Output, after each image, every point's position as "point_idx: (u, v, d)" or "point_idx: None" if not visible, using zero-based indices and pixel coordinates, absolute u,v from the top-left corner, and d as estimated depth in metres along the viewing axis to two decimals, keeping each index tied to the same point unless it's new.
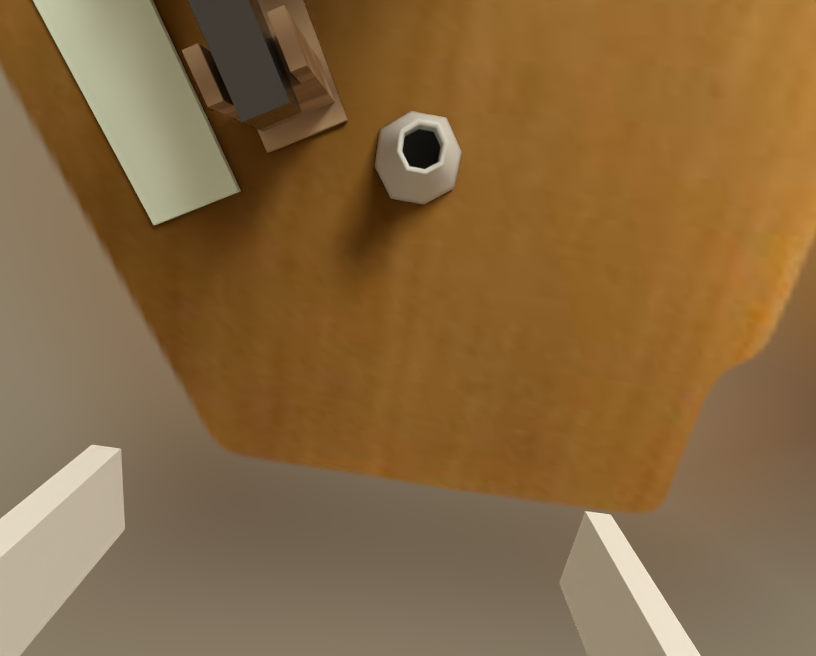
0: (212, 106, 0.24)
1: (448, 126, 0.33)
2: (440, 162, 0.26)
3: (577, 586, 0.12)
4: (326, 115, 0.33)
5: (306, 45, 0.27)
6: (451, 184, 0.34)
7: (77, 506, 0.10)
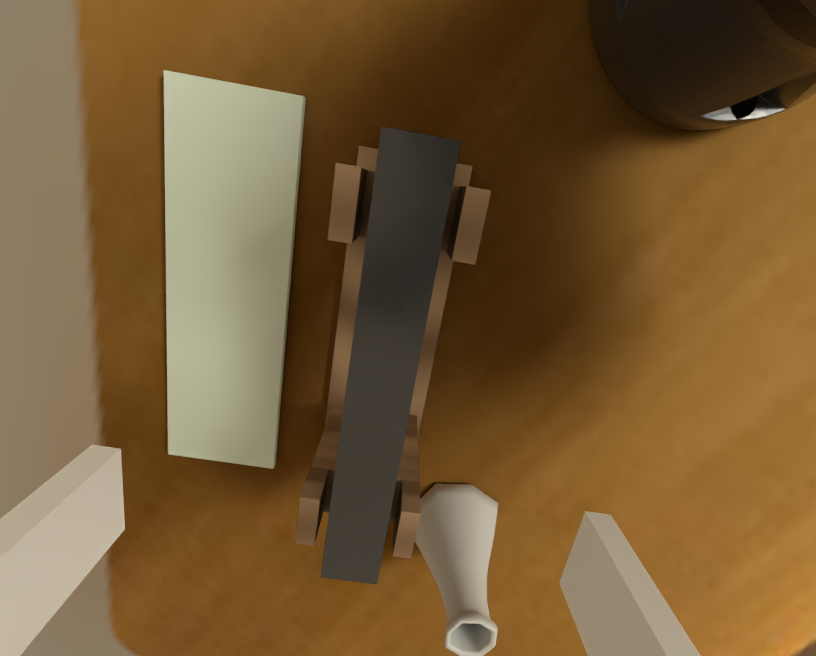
0: (300, 540, 0.22)
1: (496, 517, 0.33)
2: (478, 654, 0.26)
3: (577, 586, 0.12)
4: None
5: None
6: None
7: (77, 506, 0.10)
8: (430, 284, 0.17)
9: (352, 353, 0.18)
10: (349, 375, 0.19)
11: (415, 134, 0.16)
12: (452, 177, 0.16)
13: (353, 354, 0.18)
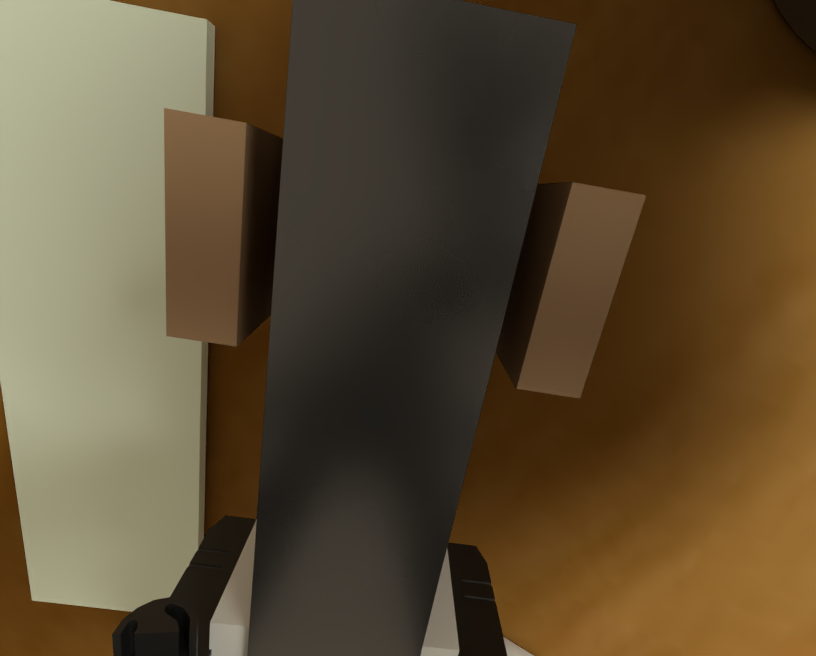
0: None
1: None
2: None
3: None
4: None
5: None
6: None
7: None
8: (459, 458, 0.06)
9: (254, 615, 0.07)
10: None
11: None
12: (539, 153, 0.05)
13: (257, 618, 0.07)
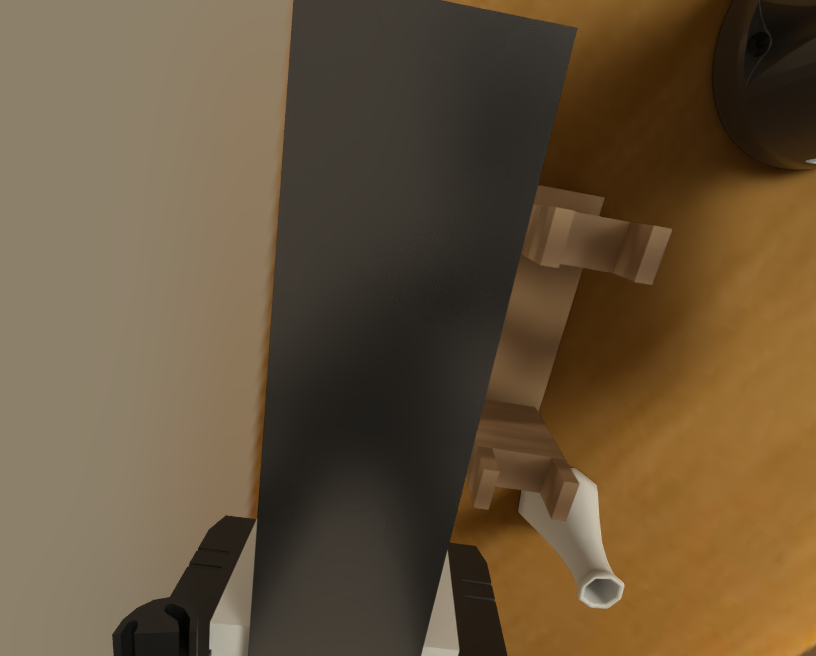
0: (476, 505, 0.27)
1: None
2: (605, 605, 0.31)
3: None
4: None
5: None
6: None
7: None
8: (459, 461, 0.06)
9: (254, 617, 0.07)
10: None
11: (419, 1, 0.04)
12: (539, 157, 0.05)
13: (258, 621, 0.07)
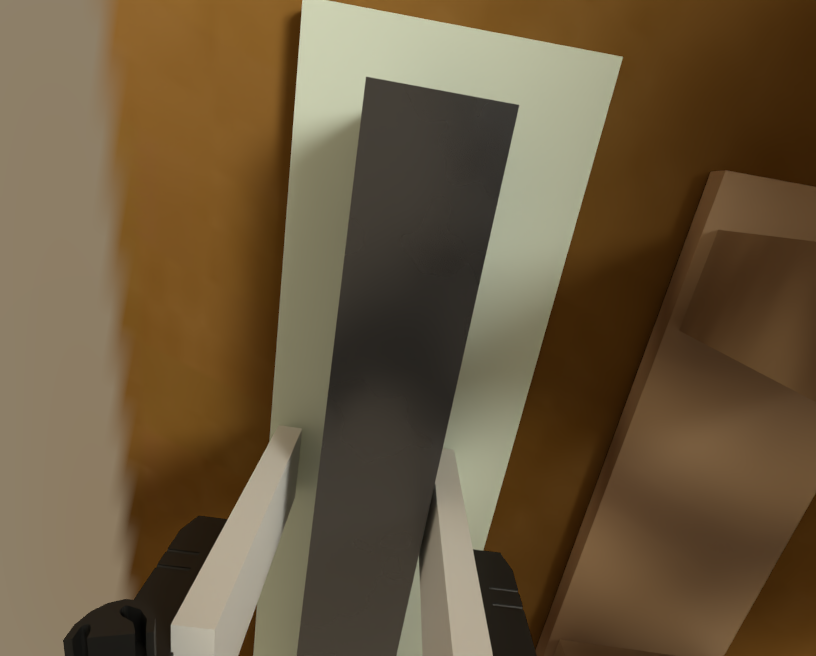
0: None
1: None
2: None
3: None
4: None
5: None
6: None
7: (287, 472, 0.12)
8: (455, 363, 0.10)
9: (321, 473, 0.11)
10: (317, 506, 0.11)
11: (431, 92, 0.08)
12: (500, 175, 0.09)
13: (323, 475, 0.11)
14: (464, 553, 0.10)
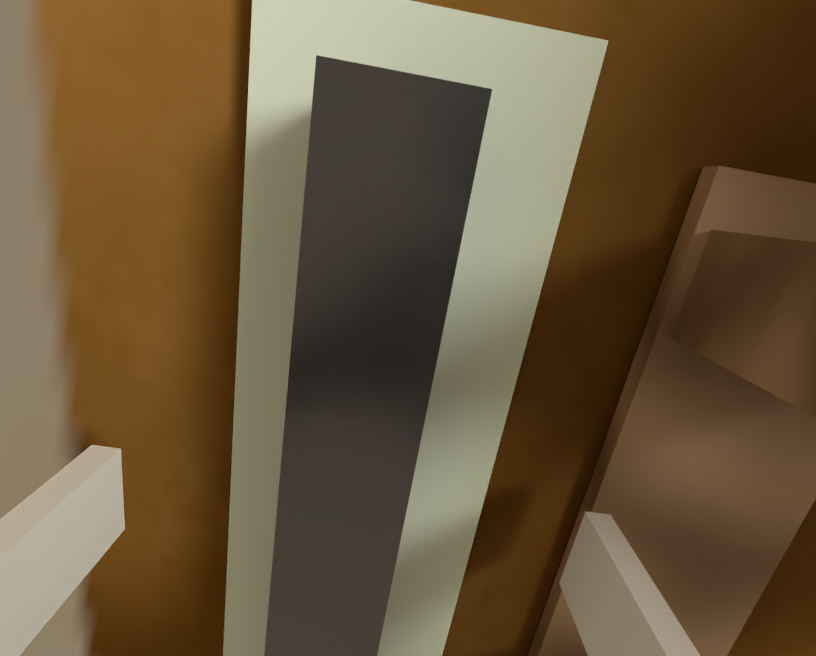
0: None
1: None
2: None
3: (577, 586, 0.12)
4: None
5: None
6: None
7: (77, 506, 0.10)
8: (426, 379, 0.09)
9: (281, 500, 0.10)
10: (277, 536, 0.10)
11: (391, 73, 0.07)
12: (472, 169, 0.08)
13: (283, 503, 0.10)
14: None
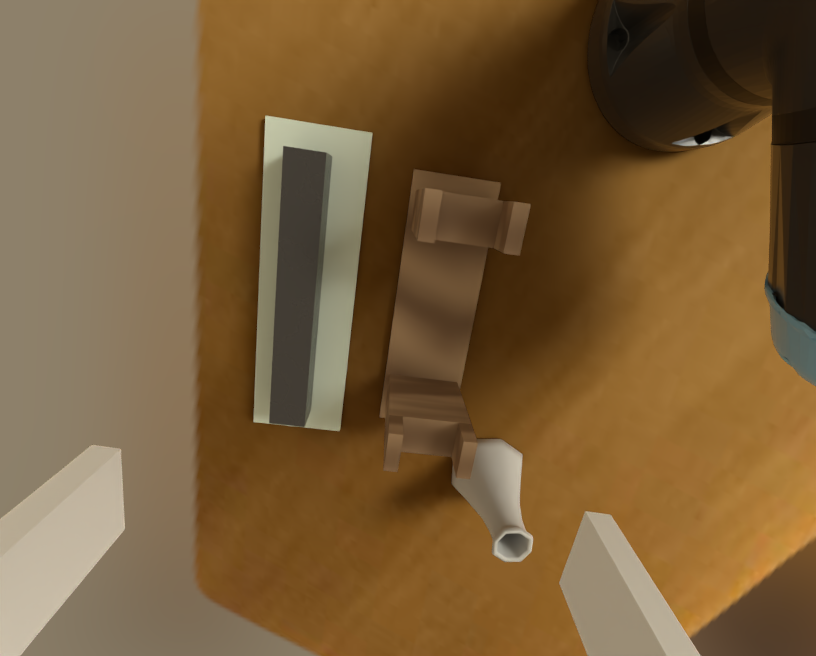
0: (386, 469, 0.30)
1: None
2: (518, 559, 0.33)
3: (577, 586, 0.12)
4: None
5: None
6: None
7: (77, 506, 0.10)
8: (318, 231, 0.31)
9: (277, 274, 0.32)
10: (276, 287, 0.32)
11: (301, 149, 0.29)
12: (324, 172, 0.30)
13: (278, 275, 0.32)
14: None
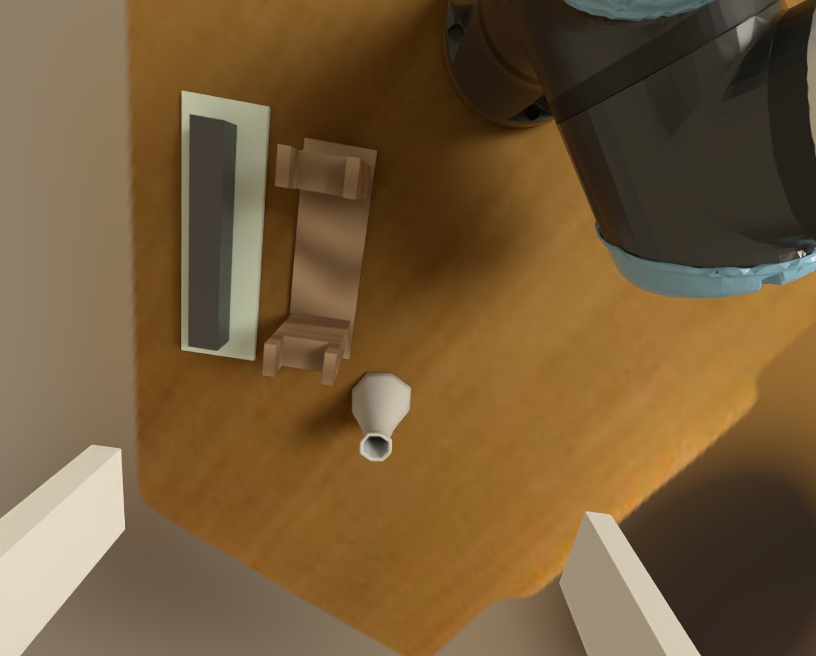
0: (265, 374, 0.37)
1: (408, 396, 0.48)
2: (381, 459, 0.40)
3: (577, 586, 0.12)
4: None
5: (341, 346, 0.40)
6: None
7: (77, 506, 0.10)
8: (220, 185, 0.39)
9: (189, 219, 0.39)
10: (189, 231, 0.40)
11: (204, 117, 0.37)
12: (222, 136, 0.37)
13: (190, 220, 0.40)
14: None
